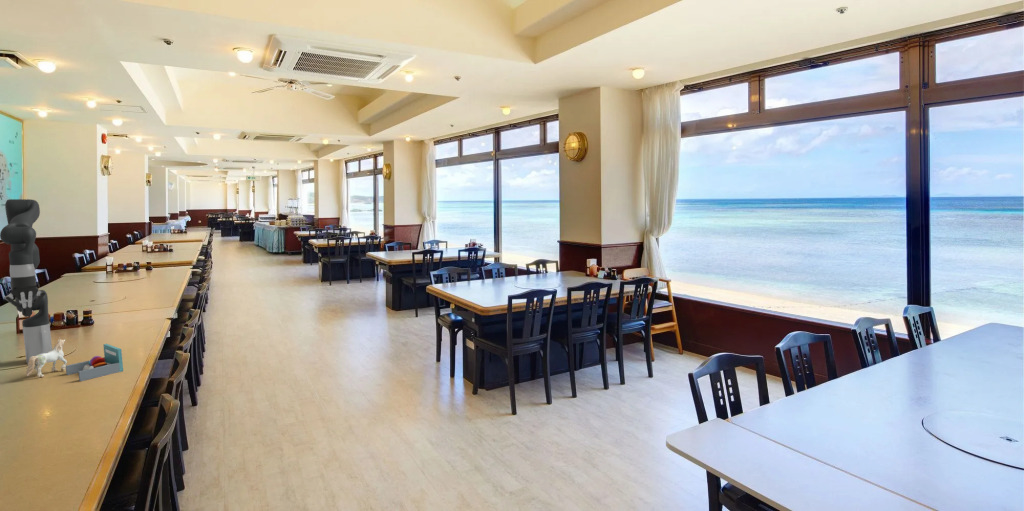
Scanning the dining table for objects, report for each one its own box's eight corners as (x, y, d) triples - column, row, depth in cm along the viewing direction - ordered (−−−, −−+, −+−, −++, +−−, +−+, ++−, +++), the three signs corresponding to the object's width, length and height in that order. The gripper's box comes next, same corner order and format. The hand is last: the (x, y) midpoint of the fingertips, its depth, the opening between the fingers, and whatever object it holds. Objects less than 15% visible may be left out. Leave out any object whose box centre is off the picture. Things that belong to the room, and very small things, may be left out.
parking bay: (66, 374, 222) (64, 352, 221) (108, 364, 235) (106, 343, 234) (80, 381, 214) (78, 358, 213) (123, 371, 227) (121, 349, 226)
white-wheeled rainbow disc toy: (90, 377, 219) (89, 360, 219) (81, 373, 225) (80, 357, 224) (114, 371, 227) (113, 355, 226) (105, 367, 232) (103, 352, 231)
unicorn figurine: (78, 365, 235) (75, 336, 233) (43, 380, 216) (39, 349, 214) (62, 365, 234) (59, 337, 233) (24, 380, 215) (21, 349, 214)
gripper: (40, 272, 219) (44, 312, 221) (-2, 276, 208) (2, 318, 210) (47, 273, 215) (51, 314, 217) (3, 278, 204) (8, 320, 206)
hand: (27, 316), depth 214 cm, fingers closed
